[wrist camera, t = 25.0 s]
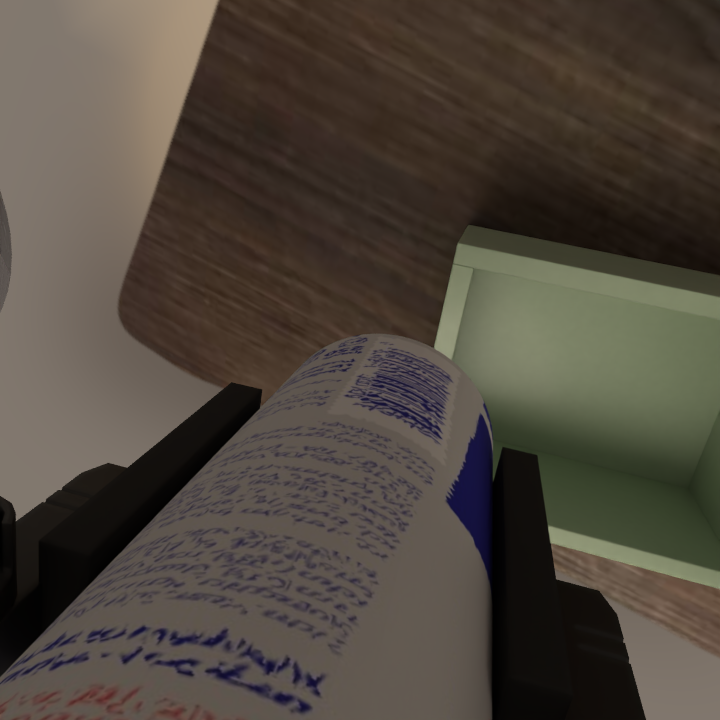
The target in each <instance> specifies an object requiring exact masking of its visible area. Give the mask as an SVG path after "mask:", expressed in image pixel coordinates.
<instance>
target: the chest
mask: <svg viewBox="0 0 720 720" xmlns="http://www.w3.org/2000/svg"><path fill="white" fill-rule="evenodd" d="M434 349H436V350H438V351H439V352H441V353H442V354H444V355H445V356H447V357H448V358H449V359H451V360H452V361H453V362H454V363H456V364H457V365H458V366H459V367H460V368H461V369H462V370H463V371H464V372H465V373H466V374H467V376H468V377H469V378H470V379H471V381H472V382H473V383H474V385H475V386H476V388H477V389H478V391H479V393H480V394H481V396H482V398H483V400H484V402H485V405H486V407H487V410H488V413H489V417H490V421H491V425H492V433H493V481H494V477H495V473H496V469H497V466H498V462H499V458H500V454H501V451H502V447H506V448H510V449H514V450H519V451H523V452H527V453H531V454H535V455H537V456H538V463H539V470H540V476H541V483H542V490H543V496H544V503H545V510H546V516H547V523H548V530H549V536H550V543H553V544H556V545H560V546H564V547H567V548H571V549H575V550H578V551H582V552H586V553H589V554H593V555H597V556H600V557H604V558H608V559H611V560H615V561H619V562H622V563H626V564H630V565H633V566H637V567H641V568H644V569H648V570H652V571H656V572H659V573H663V574H667V575H670V576H674V577H678V578H681V579H685V580H689V581H692V582H696V583H700V584H703V585H707V586H711V587H714V588H718V589H720V275H715V274H710V273H705V272H700V271H695V270H690V269H685V268H680V267H675V266H671V265H666V264H661V263H656V262H651V261H646V260H641V259H636V258H631V257H626V256H621V255H616V254H611V253H606V252H601V251H596V250H591V249H586V248H581V247H576V246H571V245H567V244H562V243H557V242H552V241H547V240H542V239H537V238H532V237H527V236H522V235H517V234H512V233H507V232H502V231H497V230H492V229H487V228H482V227H477V226H472V225H468V226H467V228H466V229H465V231H464V233H463V235H462V237H461V238H460V240H459V242H458V244H457V248H456V252H455V257H454V261H453V266H452V270H451V274H450V279H449V283H448V288H447V292H446V296H445V301H444V305H443V310H442V314H441V318H440V323H439V327H438V331H437V336H436V340H435V345H434Z"/></svg>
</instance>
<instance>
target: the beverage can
mask: <svg viewBox="0 0 720 720" xmlns="http://www.w3.org/2000/svg"><path fill="white" fill-rule="evenodd" d="M492 643H493V433H492V425H491V421H490V417H489V413H488V410H487V407H486V405H485V402H484V400H483V398H482V396H481V394H480V393H479V391H478V389H477V388H476V386H475V385H474V383H473V382H472V381H471V379H470V378H469V377H468V376H467V374H466V373H465V372H464V371H463V370H462V369H461V368H460V367H459V366H458V365H457V364H456V363H454V362H453V361H452V360H451V359H449V358H448V357H447V356H445V355H444V354H442V353H441V352H439V351H438V350H436V349H434V348H432V347H430V346H428V345H426V344H424V343H421V342H418V341H416V340H413V339H410V338H406V337H402V336H397V335H389V334H365V335H358V336H353V337H348V338H345V339H342V340H339V341H336V342H334V343H332V344H330V345H328V346H326V347H324V348H322V349H321V350H319V351H317V352H316V353H315V354H313V355H312V356H311V357H310V358H308V359H307V360H306V361H305V362H304V363H303V364H302V365H301V366H300V367H299V369H298V370H297V371H296V372H295V373H294V374H293V375H292V376H291V377H290V378H289V379H288V380H287V381H286V382H285V383H284V384H283V385H282V386H281V387H280V388H279V389H278V390H277V391H276V392H275V393H274V394H273V395H272V396H271V397H270V399H269V400H268V401H267V402H266V403H265V404H264V405H263V406H262V407H261V408H260V409H259V410H258V411H257V412H256V413H255V414H254V415H253V416H252V417H251V418H250V419H249V420H248V421H247V422H246V423H245V424H244V425H243V426H242V427H241V429H240V430H239V431H238V432H237V433H236V434H235V435H234V436H233V437H232V438H231V439H230V440H229V441H228V442H227V443H226V444H225V445H224V446H223V447H222V448H221V449H220V450H219V451H218V452H217V453H216V454H215V455H214V456H213V457H212V459H211V460H210V461H209V462H208V463H207V464H206V465H205V466H204V467H203V468H202V469H201V470H200V471H199V472H198V473H197V474H196V475H195V476H194V477H193V478H192V479H191V480H190V481H189V482H188V483H187V484H186V485H185V486H184V487H183V489H182V490H181V491H180V492H179V493H178V494H177V495H176V496H175V497H174V498H173V499H172V500H171V501H170V502H169V503H168V504H167V505H166V506H165V507H164V508H163V509H162V510H161V511H160V512H159V513H158V514H157V515H156V516H155V518H154V519H153V520H152V521H151V522H150V523H149V524H148V525H147V526H146V527H145V528H144V529H143V530H142V531H141V532H140V533H139V534H138V535H137V536H136V537H135V538H134V539H133V540H132V541H131V542H130V543H129V544H128V545H127V546H126V548H125V549H124V550H123V551H122V552H121V553H120V554H119V555H118V556H117V557H116V558H115V559H114V560H113V561H112V562H111V563H110V564H109V565H108V566H107V567H106V568H105V569H104V570H103V571H102V572H101V573H100V574H99V575H98V576H97V578H96V579H95V580H94V581H93V582H92V583H91V584H90V585H89V586H88V587H87V588H86V589H85V590H84V591H83V592H82V593H81V594H80V595H79V596H78V597H77V598H76V599H75V600H74V601H73V602H72V603H71V604H70V605H69V606H68V608H67V609H66V610H65V611H64V612H63V613H62V614H61V615H60V616H59V617H58V618H57V619H56V620H55V621H54V622H53V623H52V624H51V625H50V626H49V627H48V628H47V629H46V630H45V631H44V632H43V633H42V634H41V635H40V636H39V638H38V639H37V640H36V641H35V642H34V643H33V644H32V645H31V646H30V647H29V648H28V649H27V650H26V651H25V652H24V653H23V654H22V655H21V656H20V657H19V658H18V659H17V660H16V661H15V662H14V663H13V664H12V665H11V666H10V668H9V669H8V670H7V671H6V672H5V673H4V674H3V675H2V676H1V677H0V720H492Z"/></svg>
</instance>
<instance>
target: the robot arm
mask: <svg viewBox="0 0 720 720" xmlns="http://www.w3.org/2000/svg"><path fill="white" fill-rule="evenodd" d="M261 395H262V389H257V388H253V387H249V386H245V385H240V384H236V383H232V382H231V383H230V384H229V385H228V386H227V387H225V388H224V389H223V390H222V391H221V392H219V393H218V394H217V395H216V396H214V397H213V398H212V399H211V400H210V401H208V402H207V403H206V404H205V405H204V406H202V407H201V408H200V409H199V410H197V412H195V413H194V414H193V415H191V416H190V417H189V418H188V419H186V420H185V421H184V422H183V423H181V424H180V425H179V426H178V427H177V428H175V429H174V430H173V431H172V432H171V433H169V434H168V435H167V436H166V437H165V438H163V439H162V440H161V441H160V442H158V443H157V444H156V445H155V446H153V448H151V449H150V450H149V451H147V452H146V453H145V454H144V455H142V456H141V457H140V458H139V459H138V460H136V461H135V462H134V463H133V464H132V465H130V466H129V467H128V468H126V467H121V466H118V465H114V464H110V463H107V464H104V465H101V466H99V467H96V468H93V469H91V470H88V471H85V472H83V473H81V474H79V475H78V476H77V477H75V478H74V479H73V480H71V481H70V482H69V483H67V484H66V485H65V486H63V488H62V490H58V491H57V492H55V493H54V494H53V495H51V496H50V497H48V498H47V499H46V502H45V503H44V502H42V503H41V504H39V505H38V506H36V507H35V508H34V509H32V510H31V511H30V512H28V513H27V514H26V515H24V516H23V517H22V518H20V519H19V520H17V521H16V514H15V510H14V508H13V505H12V503H10V502H9V501H7V500H6V499H4V498H2V497H1V496H0V677H1V676H2V675H3V674H4V673H5V672H6V671H7V670H8V669H9V668H10V666H11V665H12V664H13V663H14V662H15V661H16V660H17V659H18V658H19V657H20V656H21V655H22V654H23V653H24V652H25V651H26V650H27V649H28V648H29V647H30V646H31V645H32V644H33V643H34V642H35V641H36V640H37V639H38V638H39V636H40V635H41V634H42V633H43V632H44V631H45V630H46V629H47V628H48V627H49V626H50V625H51V624H52V623H53V622H54V621H55V620H56V619H57V618H58V617H59V616H60V615H61V614H62V613H63V612H64V611H65V610H66V609H67V608H68V606H69V605H70V604H71V603H72V602H73V601H74V600H75V599H76V598H77V597H78V596H79V595H80V594H81V593H82V592H83V591H84V590H85V589H86V588H87V587H88V586H89V585H90V584H91V583H92V582H93V581H94V580H95V579H96V578H97V576H98V575H99V574H100V573H101V572H102V571H103V570H104V569H105V568H106V567H107V566H108V565H109V564H110V563H111V562H112V561H113V560H114V559H115V558H116V557H117V556H118V555H119V554H120V553H121V552H122V551H123V550H124V549H125V548H126V546H127V545H128V544H129V543H130V542H131V541H132V540H133V539H134V538H135V537H136V536H137V535H138V534H139V533H140V532H141V531H142V530H143V529H144V528H145V527H146V526H147V525H148V524H149V523H150V522H151V521H152V520H153V519H154V518H155V516H156V515H157V514H158V513H159V512H160V511H161V510H162V509H163V508H164V507H165V506H166V505H167V504H168V503H169V502H170V501H171V500H172V499H173V498H174V497H175V496H176V495H177V494H178V493H179V492H180V491H181V490H182V489H183V487H184V486H185V485H186V484H187V483H188V482H189V481H190V480H191V479H192V478H193V477H194V476H195V475H196V474H197V473H198V472H199V471H200V470H201V469H202V468H203V467H204V466H205V465H206V464H207V463H208V462H209V461H210V460H211V459H212V457H213V456H214V455H215V454H216V453H217V452H218V451H219V450H220V449H221V448H222V447H223V446H224V445H225V444H226V443H227V442H228V441H229V440H230V439H231V438H232V437H233V436H234V435H235V434H236V433H237V432H238V431H239V430H240V429H241V427H242V426H243V425H244V424H245V423H246V422H247V421H248V420H249V419H250V418H251V417H252V416H253V415H254V414H255V413H256V412H257V411H258V410H259V409H260V403H261ZM623 639H624V638H623V634H622V631H621V627H620V624H619V620H618V617H617V614H616V613H615V611H614V610H613V609H612V607H611V606H610V605H609V603H608V602H607V601H606V599H605V598H604V597H603V595H602V594H601V593H600V591H598V590H594V589H590V588H587V587H583V586H579V585H575V584H571V583H568V582H564V581H560V580H556V576H555V569H554V563H553V556H552V550H551V543H550V536H549V530H548V523H547V516H546V510H545V503H544V496H543V490H542V483H541V476H540V470H539V463H538V456H537V455H535V454H531V453H527V452H523V451H519V450H514V449H510V448H506V447H502V451H501V454H500V458H499V462H498V466H497V469H496V473H495V477H494V481H493V643H492V720H646V718H645V715H644V711H643V707H642V704H641V700H640V697H639V693H638V689H637V685H636V682H635V678H634V675H633V671H632V667H631V664H629V656H628V653H627V649H626V645H625V643H623Z"/></svg>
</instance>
